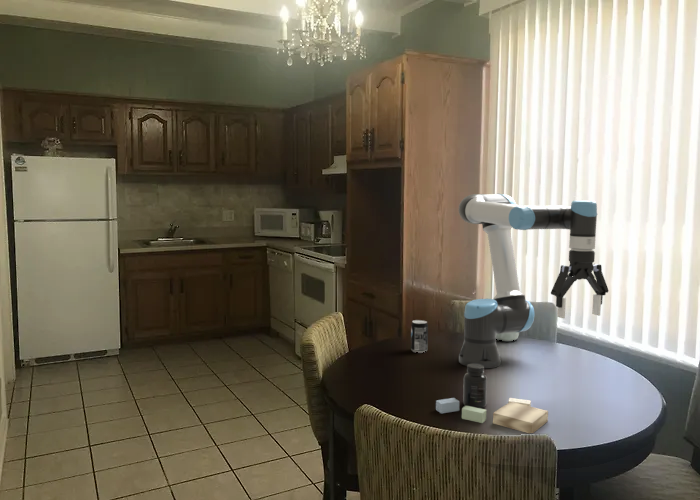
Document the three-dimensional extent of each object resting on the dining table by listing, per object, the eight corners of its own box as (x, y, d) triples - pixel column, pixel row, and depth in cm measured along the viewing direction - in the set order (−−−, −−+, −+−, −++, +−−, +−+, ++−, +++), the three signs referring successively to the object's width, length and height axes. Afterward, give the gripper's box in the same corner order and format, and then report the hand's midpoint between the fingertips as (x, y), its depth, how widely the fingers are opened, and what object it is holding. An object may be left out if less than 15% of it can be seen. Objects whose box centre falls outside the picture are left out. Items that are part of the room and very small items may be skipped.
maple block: (492, 423, 157) (493, 412, 156) (510, 411, 165) (510, 401, 165) (531, 434, 150) (532, 423, 149) (547, 421, 158) (548, 410, 158)
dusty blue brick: (441, 414, 164) (441, 403, 164) (435, 410, 167) (436, 400, 166) (459, 411, 166) (459, 401, 166) (453, 407, 169) (453, 397, 169)
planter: (491, 342, 243) (491, 317, 242) (489, 335, 255) (489, 311, 254) (521, 343, 241) (522, 318, 240) (517, 336, 253) (518, 312, 252)
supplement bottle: (460, 400, 174) (461, 362, 173) (482, 400, 174) (483, 361, 173) (466, 409, 167) (467, 369, 166) (489, 408, 168) (490, 368, 166)
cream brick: (508, 411, 166) (508, 401, 166) (509, 407, 169) (509, 397, 169) (529, 414, 164) (530, 404, 164) (530, 410, 167) (530, 400, 166)
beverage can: (415, 348, 234) (416, 319, 233) (430, 350, 230) (430, 321, 229) (407, 351, 228) (408, 322, 227) (422, 354, 225) (422, 324, 223)
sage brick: (461, 419, 160) (461, 408, 160) (465, 415, 163) (465, 405, 162) (482, 423, 157) (482, 413, 157) (486, 420, 159) (486, 409, 159)
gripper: (556, 252, 172) (553, 321, 174) (622, 249, 180) (619, 316, 182) (540, 249, 179) (538, 316, 181) (605, 247, 187) (602, 311, 189)
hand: (578, 316), depth 182 cm, fingers open, 13 cm apart
